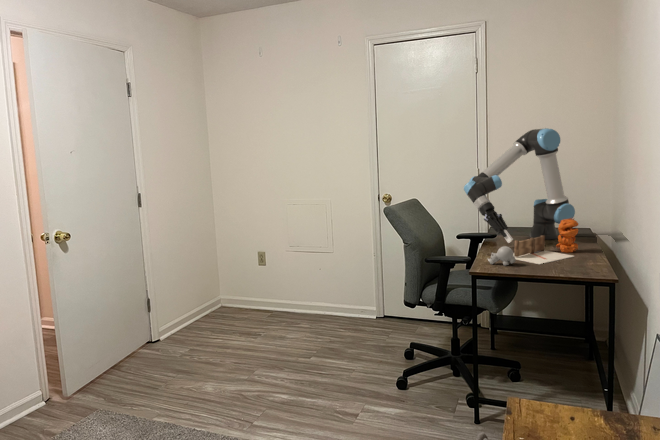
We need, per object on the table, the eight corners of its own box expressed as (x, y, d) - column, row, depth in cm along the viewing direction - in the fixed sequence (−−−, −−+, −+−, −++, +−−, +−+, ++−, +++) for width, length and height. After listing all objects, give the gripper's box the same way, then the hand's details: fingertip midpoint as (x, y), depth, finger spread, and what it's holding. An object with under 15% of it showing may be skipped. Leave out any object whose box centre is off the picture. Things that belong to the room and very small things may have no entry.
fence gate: (528, 252, 255) (528, 237, 254) (532, 253, 253) (532, 237, 252) (513, 256, 247) (513, 240, 246) (517, 256, 246) (517, 241, 245)
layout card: (501, 256, 252) (501, 255, 252) (535, 249, 266) (535, 248, 266) (539, 264, 234) (540, 263, 234) (574, 256, 247) (574, 255, 247)
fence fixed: (541, 250, 262) (541, 235, 261) (545, 250, 260) (545, 235, 259) (528, 253, 255) (529, 237, 254) (532, 254, 254) (533, 238, 253)
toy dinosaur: (569, 254, 252) (570, 219, 249) (551, 251, 261) (552, 216, 259) (584, 252, 257) (585, 217, 254) (565, 248, 266) (566, 214, 264)
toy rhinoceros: (492, 267, 241) (485, 251, 241) (517, 259, 236) (510, 242, 236) (490, 270, 234) (483, 253, 235) (516, 262, 229) (509, 245, 230)
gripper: (487, 209, 273) (513, 244, 262) (472, 211, 266) (498, 247, 255) (496, 200, 268) (523, 235, 257) (480, 202, 261) (507, 238, 250)
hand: (510, 241), depth 256 cm, fingers closed
